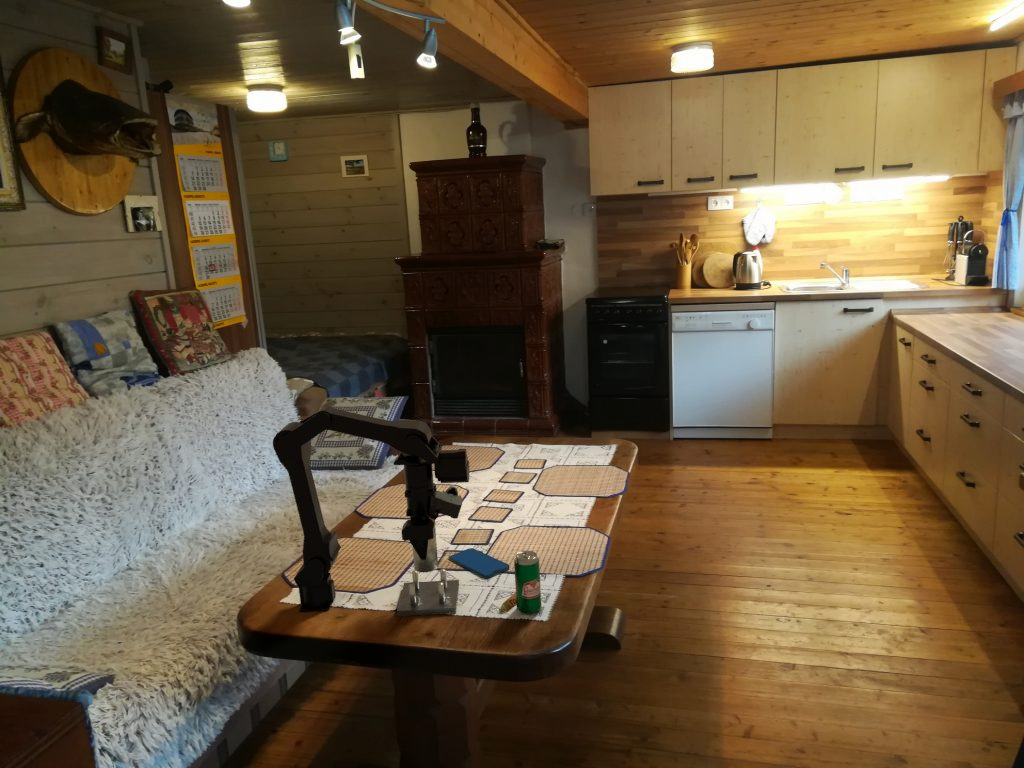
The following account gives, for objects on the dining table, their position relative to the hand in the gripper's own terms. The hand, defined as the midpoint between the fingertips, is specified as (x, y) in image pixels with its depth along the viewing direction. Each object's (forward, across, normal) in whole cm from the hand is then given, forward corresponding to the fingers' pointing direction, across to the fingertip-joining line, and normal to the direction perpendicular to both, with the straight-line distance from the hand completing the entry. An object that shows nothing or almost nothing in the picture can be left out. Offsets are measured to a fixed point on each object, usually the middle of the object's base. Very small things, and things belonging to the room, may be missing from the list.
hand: (425, 553), depth 159 cm
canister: (+3, 0, 0) cm, 3 cm away
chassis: (+11, 0, 0) cm, 11 cm away
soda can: (+11, -6, -21) cm, 24 cm away
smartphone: (+11, +16, -10) cm, 22 cm away
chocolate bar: (+11, -1, -19) cm, 22 cm away
